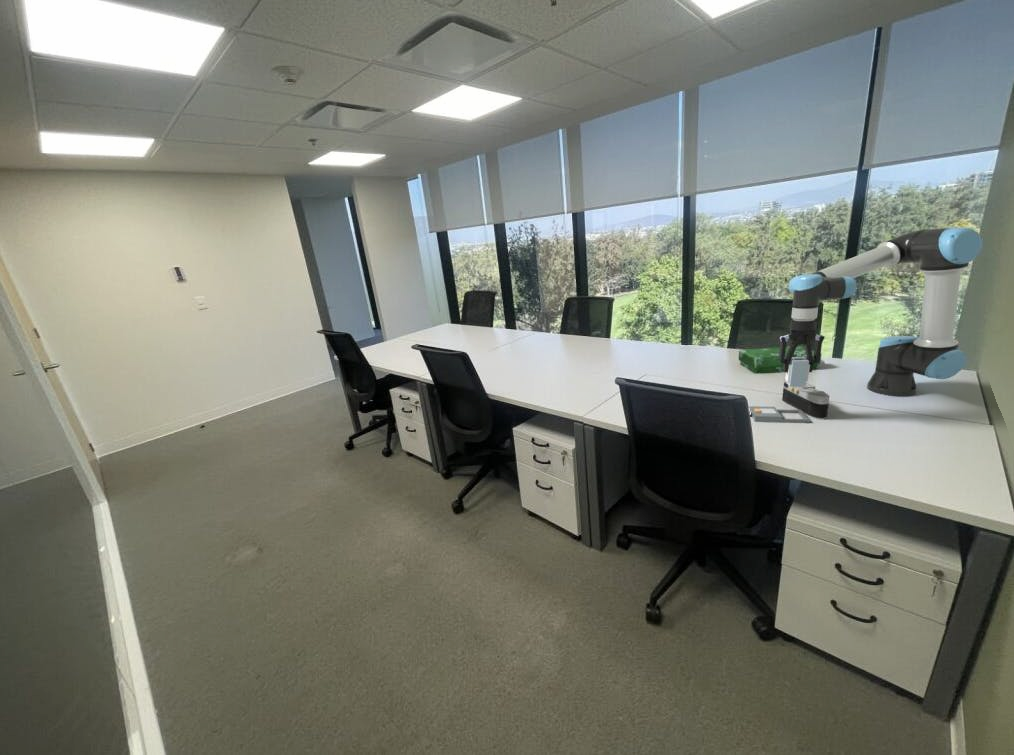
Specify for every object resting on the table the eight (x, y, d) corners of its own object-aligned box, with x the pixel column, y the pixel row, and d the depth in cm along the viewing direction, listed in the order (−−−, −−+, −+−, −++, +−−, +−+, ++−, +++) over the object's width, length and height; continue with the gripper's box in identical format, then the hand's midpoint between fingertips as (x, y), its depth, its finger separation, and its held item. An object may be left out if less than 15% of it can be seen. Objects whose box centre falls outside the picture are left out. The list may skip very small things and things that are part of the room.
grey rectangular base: (800, 412, 160) (801, 405, 159) (809, 423, 151) (810, 415, 150) (740, 411, 167) (740, 404, 166) (745, 421, 158) (746, 414, 157)
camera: (839, 418, 152) (843, 393, 149) (813, 420, 153) (816, 396, 150) (799, 398, 173) (802, 376, 170) (776, 400, 173) (778, 378, 170)
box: (753, 377, 203) (754, 358, 200) (736, 367, 220) (737, 349, 217) (821, 372, 199) (823, 352, 196) (799, 362, 216) (801, 344, 213)
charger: (800, 382, 155) (804, 356, 151) (805, 386, 150) (809, 360, 147) (785, 382, 156) (788, 356, 153) (789, 386, 152) (793, 360, 148)
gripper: (829, 315, 146) (820, 377, 153) (771, 318, 151) (766, 377, 158) (838, 319, 139) (829, 383, 146) (777, 322, 145) (771, 383, 151)
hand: (796, 380), depth 152 cm, fingers closed on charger, 5 cm apart
